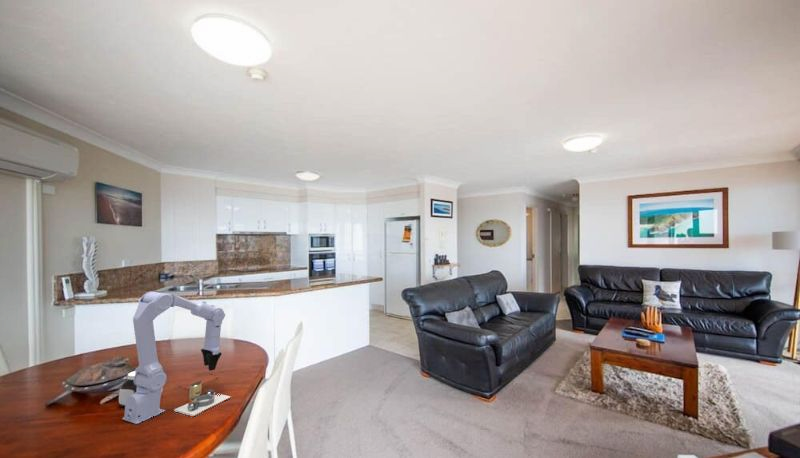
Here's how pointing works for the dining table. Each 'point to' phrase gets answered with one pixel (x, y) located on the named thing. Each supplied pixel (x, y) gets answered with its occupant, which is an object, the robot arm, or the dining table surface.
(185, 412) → the base plate
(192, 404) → the steel shaft
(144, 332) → the robot arm
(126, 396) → the spread jar
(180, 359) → the dining table surface
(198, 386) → the cylinder
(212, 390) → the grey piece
